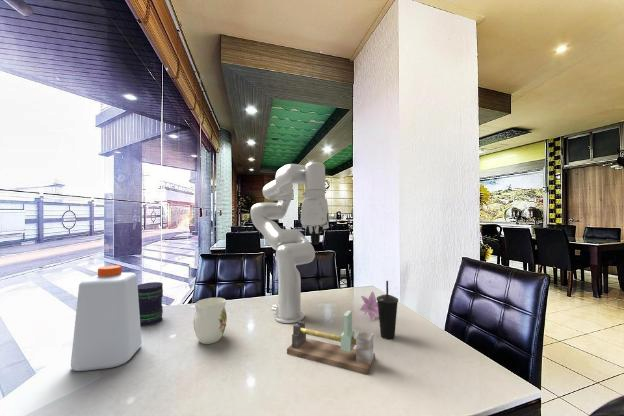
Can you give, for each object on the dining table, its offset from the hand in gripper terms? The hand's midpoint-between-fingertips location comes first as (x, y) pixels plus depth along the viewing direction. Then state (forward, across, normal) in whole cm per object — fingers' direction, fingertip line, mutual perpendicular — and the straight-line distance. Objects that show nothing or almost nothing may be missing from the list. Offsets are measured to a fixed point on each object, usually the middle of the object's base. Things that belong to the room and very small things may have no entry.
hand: (315, 243), depth 100 cm
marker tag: (+29, +17, -13) cm, 36 cm away
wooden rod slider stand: (+33, +11, -13) cm, 37 cm away
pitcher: (+33, -32, -20) cm, 50 cm away
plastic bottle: (+33, -51, -43) cm, 75 cm away
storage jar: (+33, -67, -20) cm, 77 cm away
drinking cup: (+33, +25, +8) cm, 42 cm away
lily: (+33, +16, +23) cm, 44 cm away
